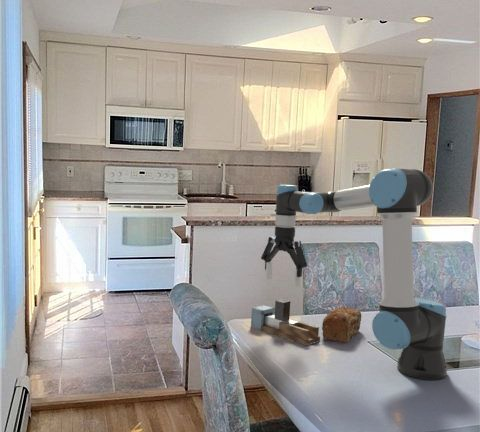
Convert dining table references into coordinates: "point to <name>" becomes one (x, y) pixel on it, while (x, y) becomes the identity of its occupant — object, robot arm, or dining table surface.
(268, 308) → the socket
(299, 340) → the rail
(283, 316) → the grey and white block
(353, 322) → the bread
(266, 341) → the dining table surface
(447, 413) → the dining table surface
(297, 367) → the dining table surface
